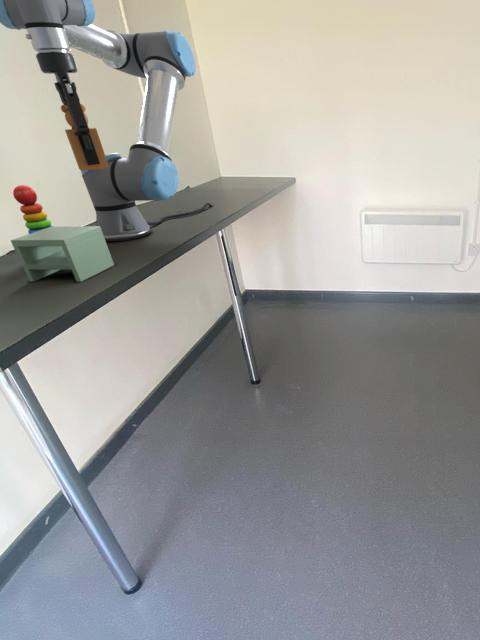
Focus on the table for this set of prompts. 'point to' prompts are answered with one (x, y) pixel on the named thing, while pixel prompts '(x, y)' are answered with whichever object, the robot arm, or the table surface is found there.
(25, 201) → the stacking toy
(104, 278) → the table surface
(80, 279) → the pale green square stand
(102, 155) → the plush bear
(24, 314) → the table surface
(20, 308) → the table surface
